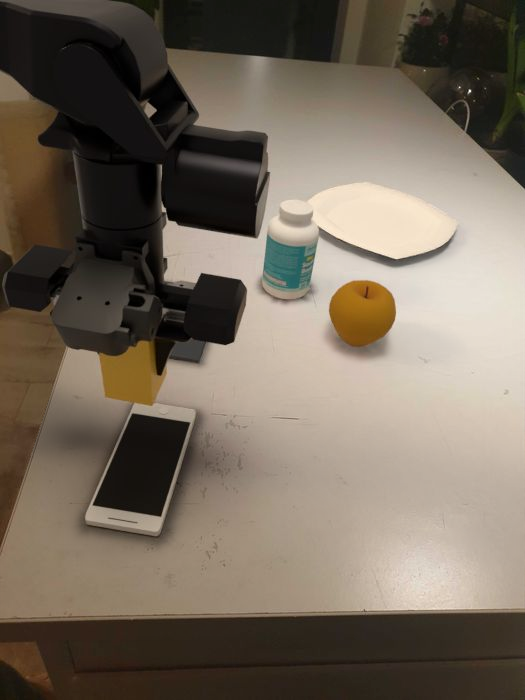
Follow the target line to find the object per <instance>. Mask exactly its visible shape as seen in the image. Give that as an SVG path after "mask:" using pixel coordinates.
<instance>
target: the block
mask: <svg viewBox="0 0 525 700" xmlns="http://www.w3.org/2000/svg"><path fill="white" fill-rule="evenodd" d="M163 316H164V315H162V317H161V320H162V318H163ZM161 320H160V322H161ZM159 324H160V323H159ZM156 352H157V339H156V338H154V340H152V341H151V342H148V341H139V342H138V344H137V346H136V347H131V346H129V348H128V350H127V351H126V352H125V353H124V354H122V355H119V356H108V355H105V354H103V353H99V355H98V357H99V365H100V371H101V378H102V384H103V393H104V397H105V398H107V399H112V400H116V401H117V400H118V401H122V402H128V403H133V404H134V403H138V404H143V405H149V406H153V404H154V403H155V402H156V399H157V397H158V395H159V392H160V390H161V388H162V385H163V383H164V382H165V379H166V377H167V374H168V369H167V368H168V366H167V365H168V363H167V364H166V366H165V369H164V371H163V373H162V375H161V376H159V375H157V369H156Z"/></svg>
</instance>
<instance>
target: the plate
mask: <svg viewBox="0 0 525 700" xmlns="http://www.w3.org/2000/svg"><path fill="white" fill-rule="evenodd" d="M306 202H307V203H309V204H310V205H312V207H313V217H312V220H314V221H315V222H316V224H317V225H318V228H319V229H321V230H322V231H323V232H325V233H327V234H328V235H330V236H332V237H333V238H335V239H337V240H339V241H341V242H344V243H346V244H348V245H350V246H353V247H356V248H359V249H361V250H364V251H366V252H369V253H372V254H376V255H378V256H382V257H385V258H388V259H391V260H394V261H399V260H403V259H407V258H412V257H415V256H420V255H424V254H427V253H429V252H433V251H435V250H437V249H438V248H441V247H442V246H444V245H445V244H446V243H448V242H449V241H450V240H451V238H452V237H453V236H454V233H455V232H456V230H457V228H458V225H459V221H458V220H456V219H455V218H454V217H452V216H450V215H449V214H447V213H445V212H444V211H442V210H441V209H439V208H437V207H435V206H434V205H432V204H430V203H429V202H427V201H425V200H422V199H420V198H418V197H417V196H414V195H411V194H408V193H405V192H403V191H399V190H397V189H393V188H390V187H387V186H383V185H380V184H376V183H372V182H369V181H361V182H354V183H348V184H343V185H338V186H333V187H331V188H327V189H324V190H322V191H320V192H318V193H316V194H315V195H313V196H312V197H310V198H309V199H308V200H307V201H306Z"/></svg>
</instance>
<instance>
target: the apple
mask: <svg viewBox="0 0 525 700" xmlns="http://www.w3.org/2000/svg"><path fill="white" fill-rule="evenodd" d="M396 308H397V307H396V300H395V298H394V295H393V293H392V292H391V291H390V290H389V289H388V288H387V287H385V286H384V285H382V284H381V283H379V282H375V281H372V280H368V279H367V280H364V279H361V280H351V281H349V282H347V283H344V284H343V285H341V286H340V287H339V288H338V289H337V290H336V291H335V292H334V293H333V295H332V296H331V298H330V302H329V306H328V314H329V319H330V321H331V324H332V327H333V328H334V330H335V332H336V333H337V335H338V336H339V337H340V339H342V340H343V342H344V343H346V344H347V345H349V346H351V347H355V348H362V347H366V346H368V345H371V344H373V343H375V342H377V341H379V340H381V339H383V338H384V337H385V336H386V335H387V334H388V333H389V331H391V329H392V328H393V325H394V324H395V321H396V317H397V309H396Z"/></svg>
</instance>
